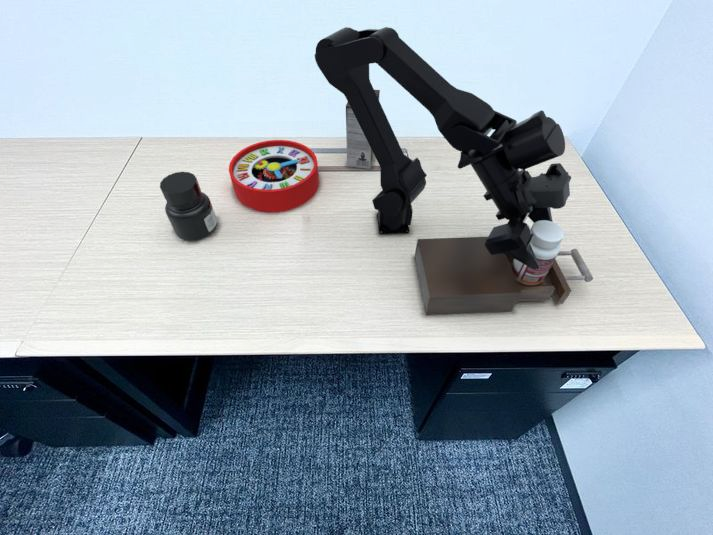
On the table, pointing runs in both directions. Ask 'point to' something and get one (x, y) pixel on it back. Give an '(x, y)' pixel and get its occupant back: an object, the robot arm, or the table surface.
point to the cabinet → (464, 277)
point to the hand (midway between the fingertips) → (544, 251)
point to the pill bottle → (540, 252)
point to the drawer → (554, 281)
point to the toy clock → (274, 175)
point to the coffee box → (357, 142)
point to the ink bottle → (188, 207)
